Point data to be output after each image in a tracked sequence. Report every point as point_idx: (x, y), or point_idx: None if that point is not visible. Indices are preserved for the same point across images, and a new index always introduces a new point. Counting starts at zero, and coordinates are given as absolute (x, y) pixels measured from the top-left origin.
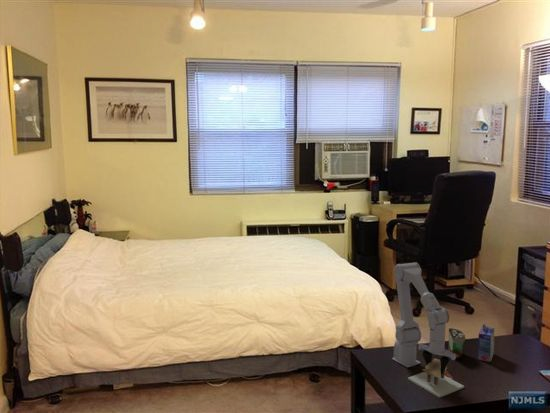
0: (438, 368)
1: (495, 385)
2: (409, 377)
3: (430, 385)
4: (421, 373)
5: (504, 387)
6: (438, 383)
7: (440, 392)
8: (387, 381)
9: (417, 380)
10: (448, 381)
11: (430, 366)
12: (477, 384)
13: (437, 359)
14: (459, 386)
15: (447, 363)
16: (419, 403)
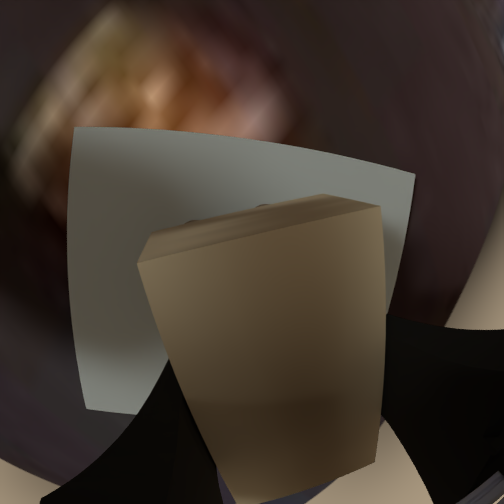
0: (366, 442)
1: (464, 25)
2: (89, 401)
3: None
4: (76, 284)
5: (485, 25)
6: None
7: None
8: (70, 471)
9: (148, 393)
10: None
11: (280, 483)
12: (425, 66)
13: (201, 263)
14: (401, 208)
15: (453, 334)
16: None
